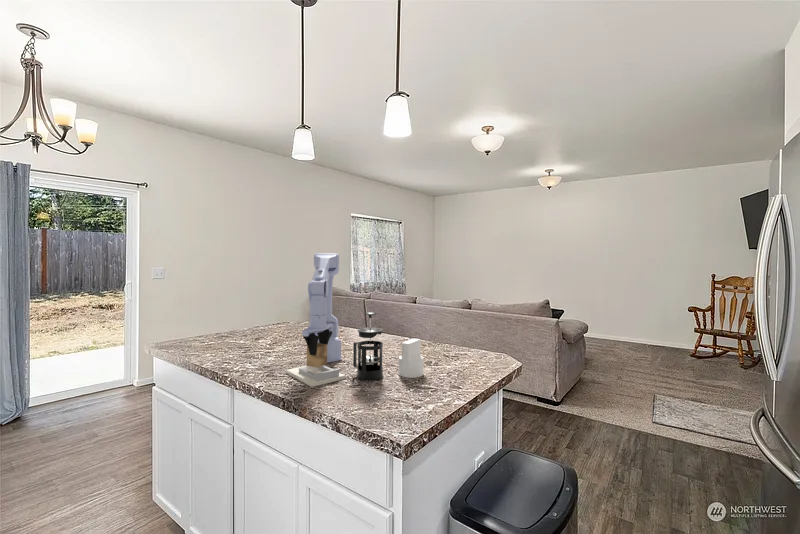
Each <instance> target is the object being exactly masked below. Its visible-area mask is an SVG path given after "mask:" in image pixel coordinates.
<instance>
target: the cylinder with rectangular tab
mask: <svg viewBox="0 0 800 534" xmlns="http://www.w3.org/2000/svg"><path fill="white" fill-rule="evenodd" d="M398 375H399V376H401V377H404V378H411V379H412V378H413V379H415V378H419V377H423V376H424V356H422V355H421V338H411V339H408V340H406V341H402V342H401V355H399V356H398Z"/></svg>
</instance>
